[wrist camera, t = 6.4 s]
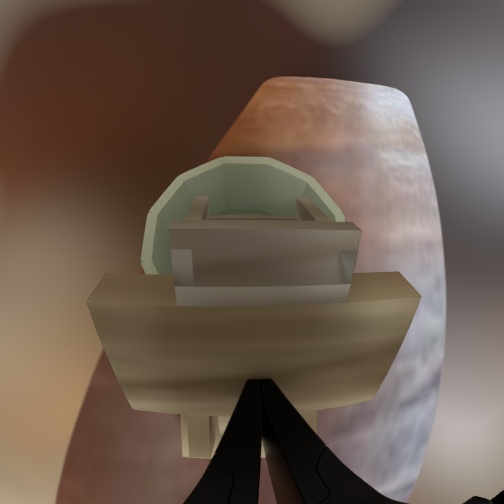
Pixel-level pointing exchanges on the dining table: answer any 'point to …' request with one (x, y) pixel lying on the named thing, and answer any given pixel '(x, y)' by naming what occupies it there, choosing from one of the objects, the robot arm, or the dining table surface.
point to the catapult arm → (253, 315)
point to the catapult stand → (215, 434)
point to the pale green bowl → (229, 199)
